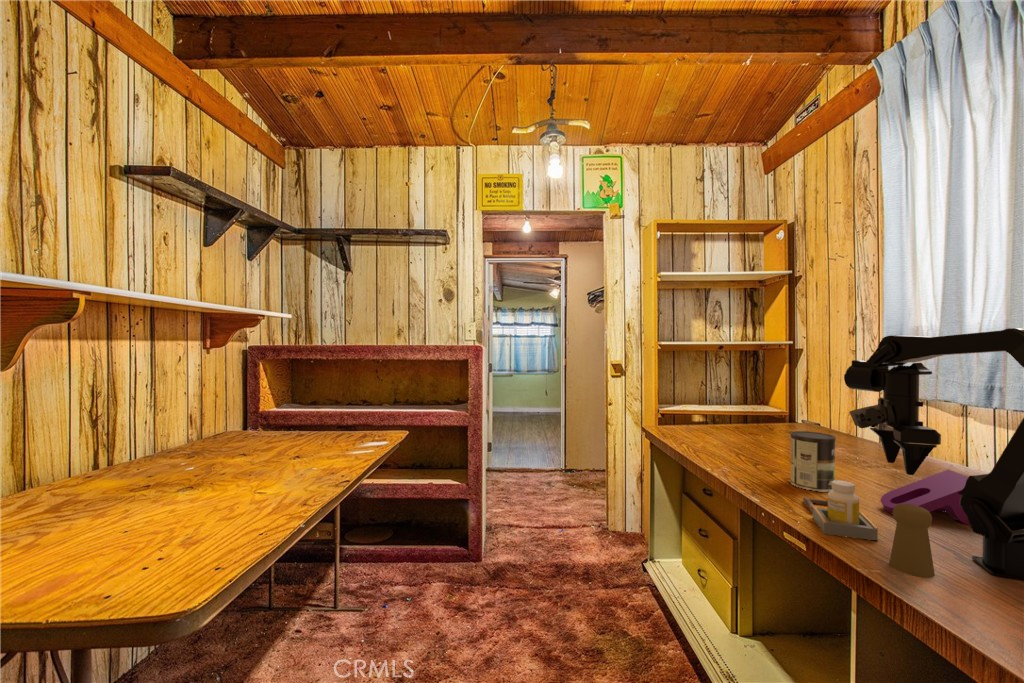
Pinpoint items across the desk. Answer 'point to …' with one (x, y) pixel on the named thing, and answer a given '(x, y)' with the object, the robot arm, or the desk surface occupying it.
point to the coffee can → (812, 460)
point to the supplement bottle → (843, 503)
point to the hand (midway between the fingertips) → (899, 468)
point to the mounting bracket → (931, 494)
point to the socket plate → (845, 526)
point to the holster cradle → (810, 502)
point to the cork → (912, 541)
